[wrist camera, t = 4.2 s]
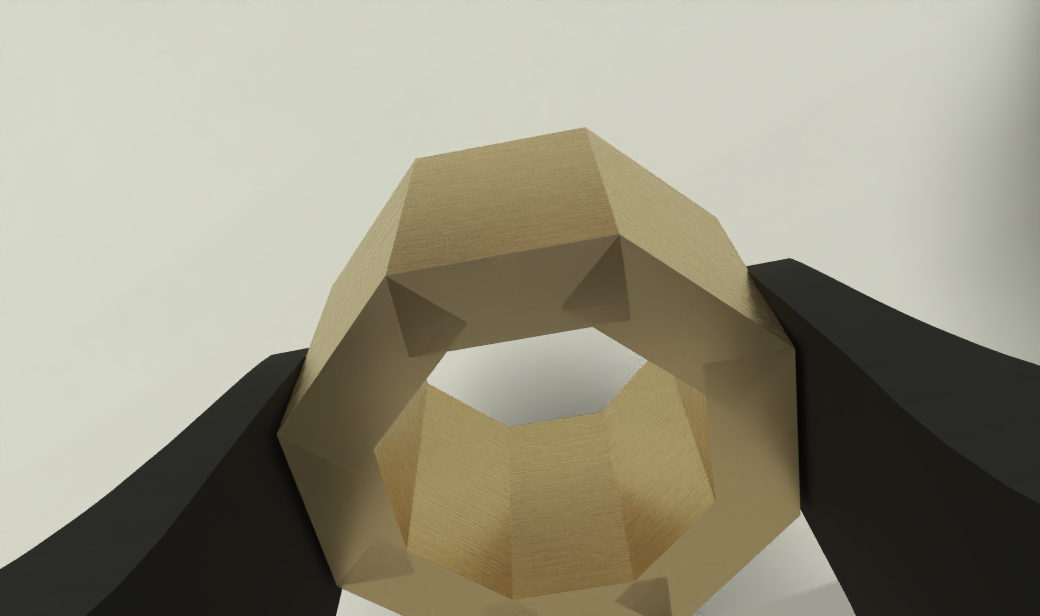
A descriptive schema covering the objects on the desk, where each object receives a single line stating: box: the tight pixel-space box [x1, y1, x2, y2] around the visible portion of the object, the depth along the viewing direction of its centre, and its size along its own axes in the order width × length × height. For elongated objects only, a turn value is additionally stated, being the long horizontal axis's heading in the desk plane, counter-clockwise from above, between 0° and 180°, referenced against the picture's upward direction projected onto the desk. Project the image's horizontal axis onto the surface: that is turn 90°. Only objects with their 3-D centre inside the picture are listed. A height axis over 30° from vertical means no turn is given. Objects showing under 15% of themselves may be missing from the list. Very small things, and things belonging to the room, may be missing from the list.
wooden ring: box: [277, 127, 800, 616], centre depth 11 cm, size 6×6×4 cm
